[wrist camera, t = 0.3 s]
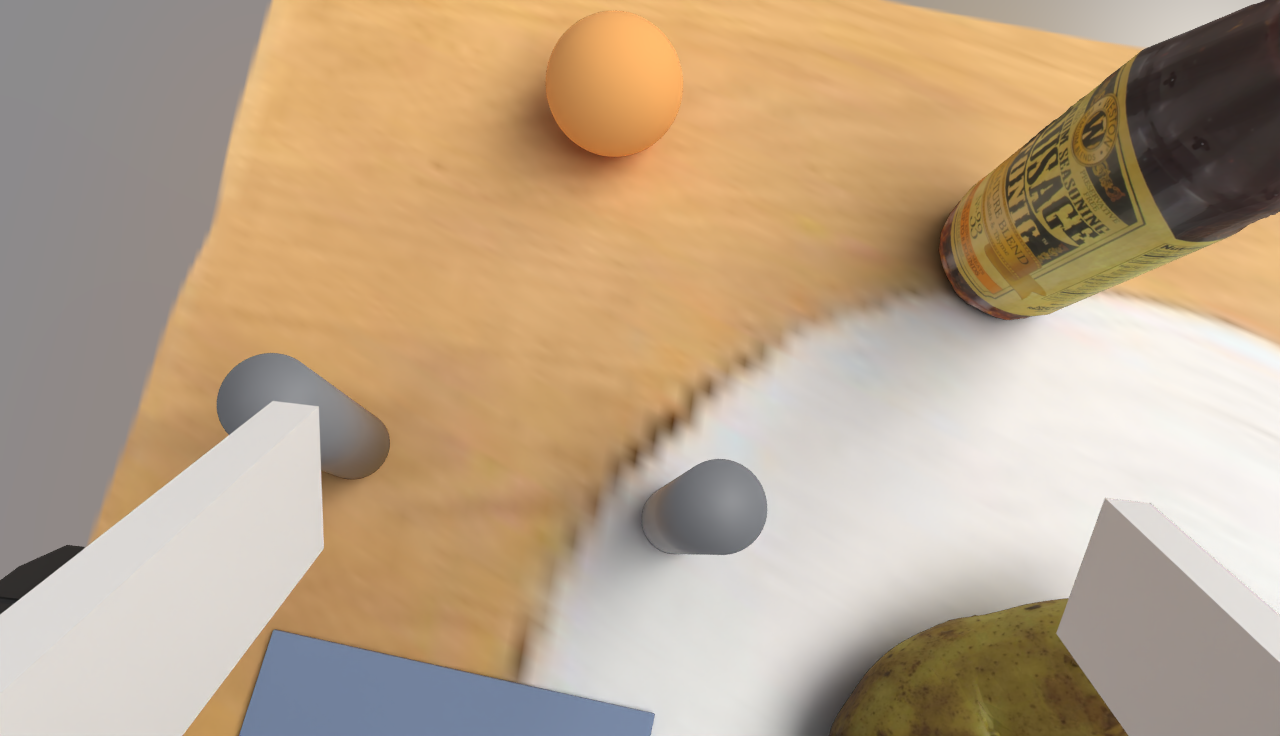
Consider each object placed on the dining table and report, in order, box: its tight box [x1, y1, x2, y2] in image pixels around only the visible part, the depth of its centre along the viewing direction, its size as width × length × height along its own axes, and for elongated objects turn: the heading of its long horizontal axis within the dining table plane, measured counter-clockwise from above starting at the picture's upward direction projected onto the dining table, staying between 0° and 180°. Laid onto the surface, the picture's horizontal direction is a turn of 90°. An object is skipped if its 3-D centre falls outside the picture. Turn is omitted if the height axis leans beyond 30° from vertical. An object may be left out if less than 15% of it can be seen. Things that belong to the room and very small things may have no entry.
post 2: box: [642, 459, 767, 555], centre depth 26 cm, size 3×3×9 cm
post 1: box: [217, 353, 390, 479], centre depth 25 cm, size 3×3×9 cm
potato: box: [829, 598, 1128, 736], centre depth 26 cm, size 8×13×8 cm, turn 86°
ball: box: [546, 11, 683, 157], centre depth 31 cm, size 6×6×6 cm
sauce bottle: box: [939, 0, 1280, 320], centre depth 24 cm, size 6×6×20 cm
